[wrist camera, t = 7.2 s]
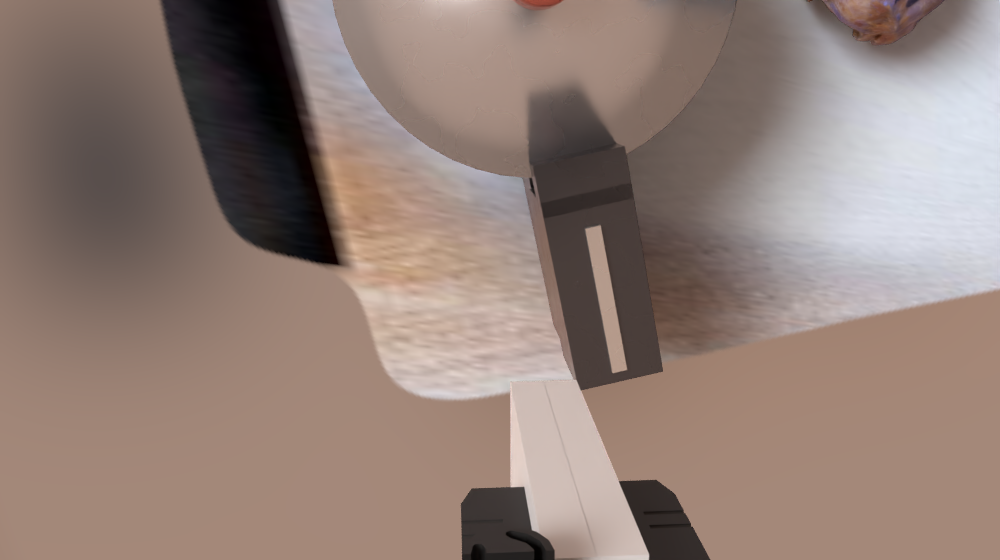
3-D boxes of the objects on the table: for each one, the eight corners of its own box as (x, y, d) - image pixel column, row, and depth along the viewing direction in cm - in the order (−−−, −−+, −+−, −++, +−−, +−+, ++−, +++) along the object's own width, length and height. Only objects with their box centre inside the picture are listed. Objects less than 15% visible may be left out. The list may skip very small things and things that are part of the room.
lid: (687, -277, 28) (732, -344, 24) (763, 310, 34) (810, 344, 30) (290, -190, 28) (261, -241, 24) (437, 385, 34) (436, 429, 30)
